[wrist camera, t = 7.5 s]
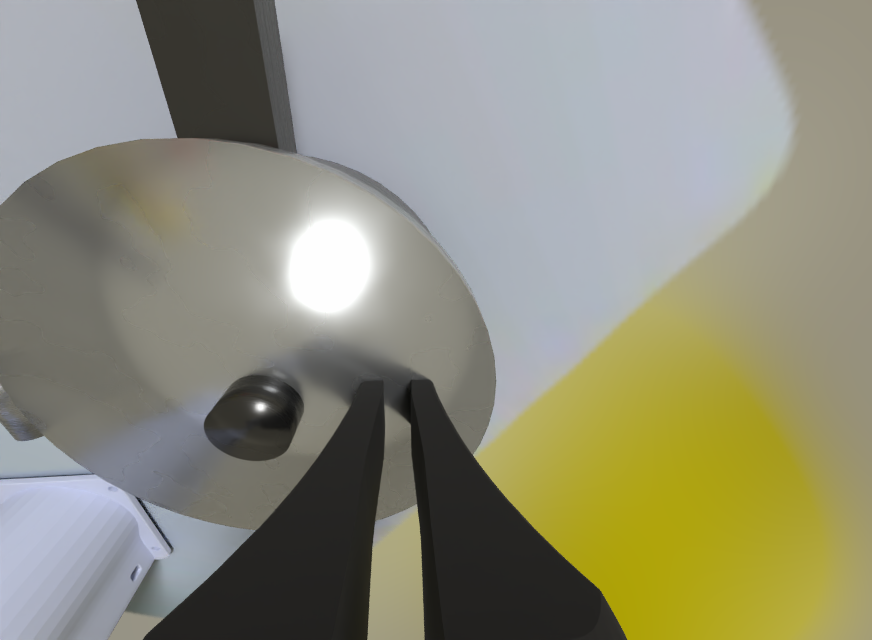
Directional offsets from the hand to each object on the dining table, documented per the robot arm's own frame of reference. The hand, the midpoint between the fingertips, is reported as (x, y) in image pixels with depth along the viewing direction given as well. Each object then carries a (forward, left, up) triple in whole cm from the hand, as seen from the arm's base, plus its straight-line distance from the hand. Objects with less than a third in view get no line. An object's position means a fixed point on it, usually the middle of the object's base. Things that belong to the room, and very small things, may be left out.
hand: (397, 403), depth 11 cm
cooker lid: (0, +5, -1) cm, 5 cm away
